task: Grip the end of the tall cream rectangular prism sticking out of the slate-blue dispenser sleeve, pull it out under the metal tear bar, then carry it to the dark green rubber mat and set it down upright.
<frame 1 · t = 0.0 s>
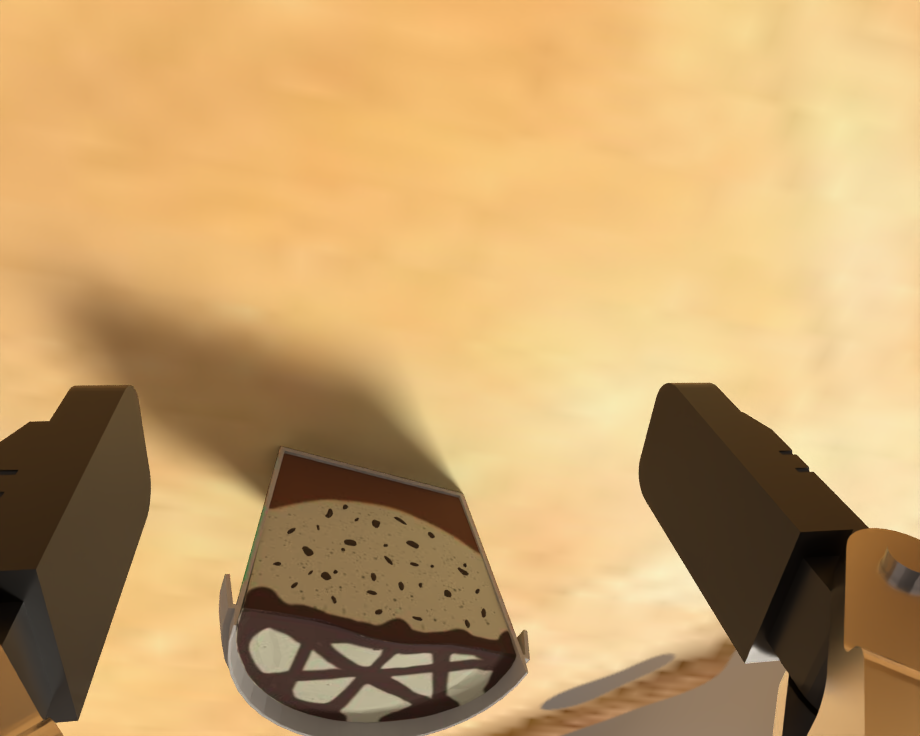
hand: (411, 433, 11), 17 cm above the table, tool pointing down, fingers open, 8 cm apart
food container: (352, 514, 34), on the table
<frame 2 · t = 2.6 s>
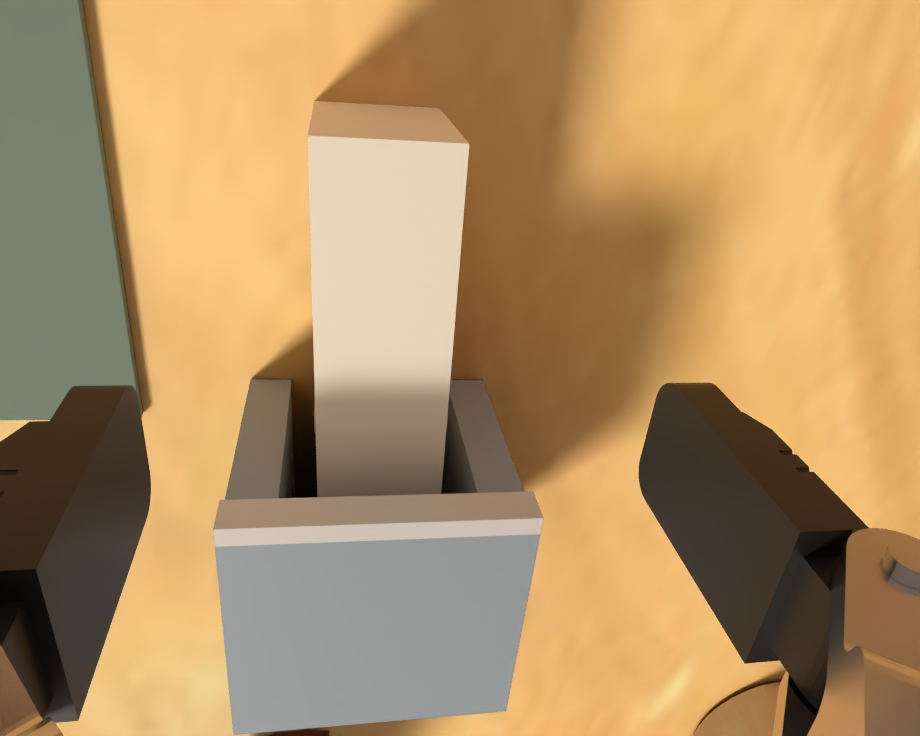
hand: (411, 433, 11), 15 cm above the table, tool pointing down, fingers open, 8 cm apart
dispenser sleeve: (367, 462, 29), on the table
tall cream rectangular prism: (374, 277, 25), on the table
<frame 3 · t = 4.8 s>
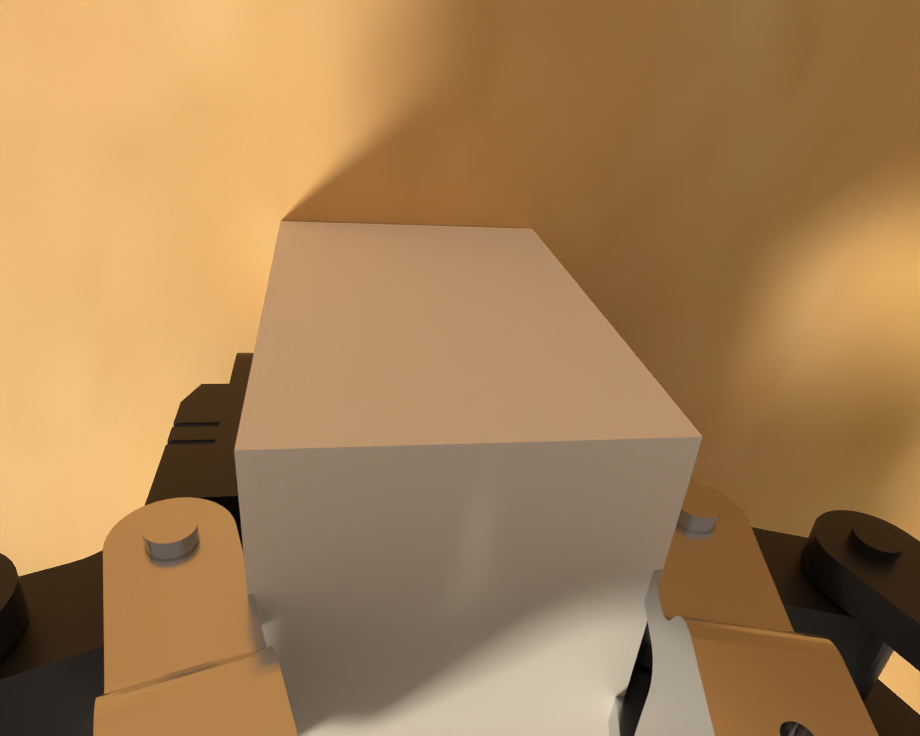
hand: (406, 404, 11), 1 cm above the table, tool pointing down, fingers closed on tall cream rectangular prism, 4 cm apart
tall cream rectangular prism: (396, 516, 14), on the table, touching gripper
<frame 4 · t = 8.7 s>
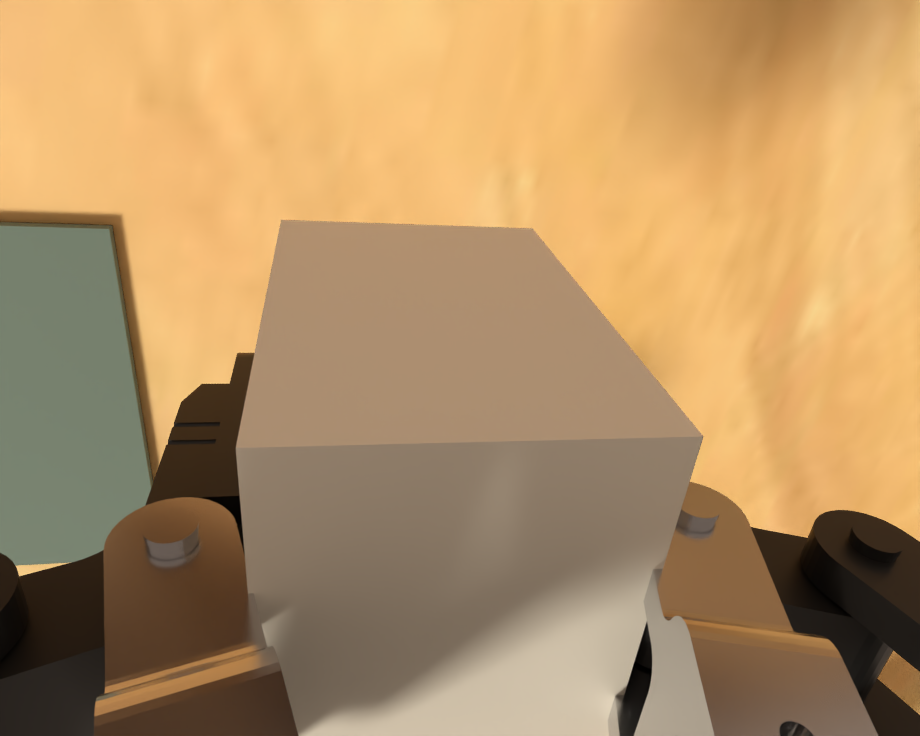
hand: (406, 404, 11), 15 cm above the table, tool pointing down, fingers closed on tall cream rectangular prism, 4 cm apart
rubber mat: (44, 411, 27), on the table
tall cream rectangular prism: (395, 516, 14), point 14 cm above the table, touching gripper
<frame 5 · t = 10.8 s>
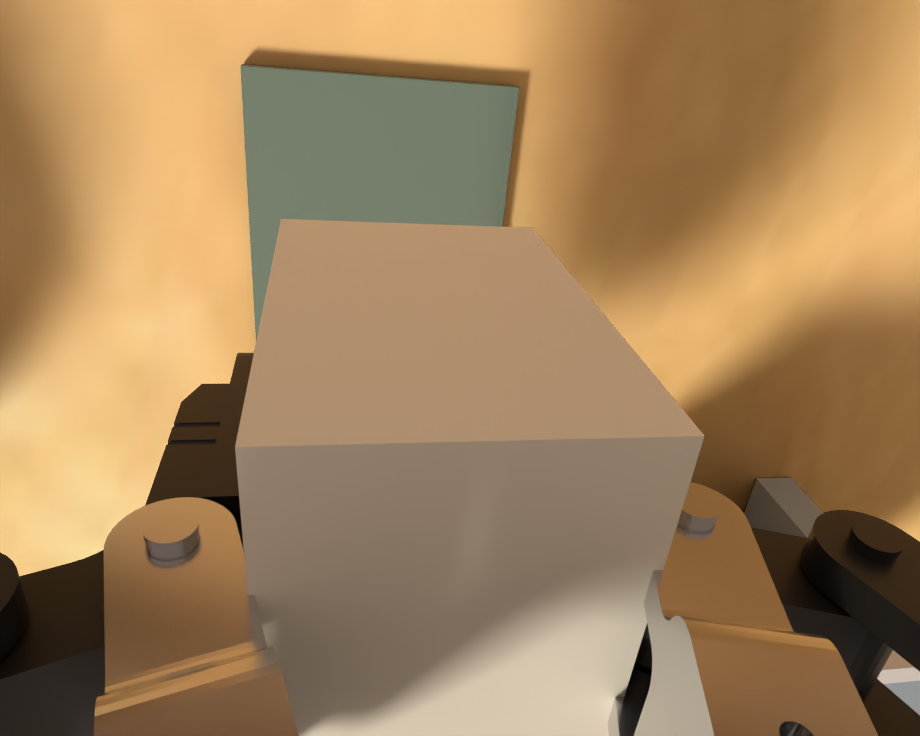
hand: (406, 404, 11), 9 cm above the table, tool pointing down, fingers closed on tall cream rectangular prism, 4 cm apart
rubber mat: (374, 336, 21), on the table
dispenser sleeve: (661, 558, 28), on the table
tall cream rectangular prism: (395, 516, 14), point 9 cm above the table, touching gripper
when the fingers open (2 cm above the table, at t = 12.8 s): tall cream rectangular prism stays where it is, resting on rubber mat.
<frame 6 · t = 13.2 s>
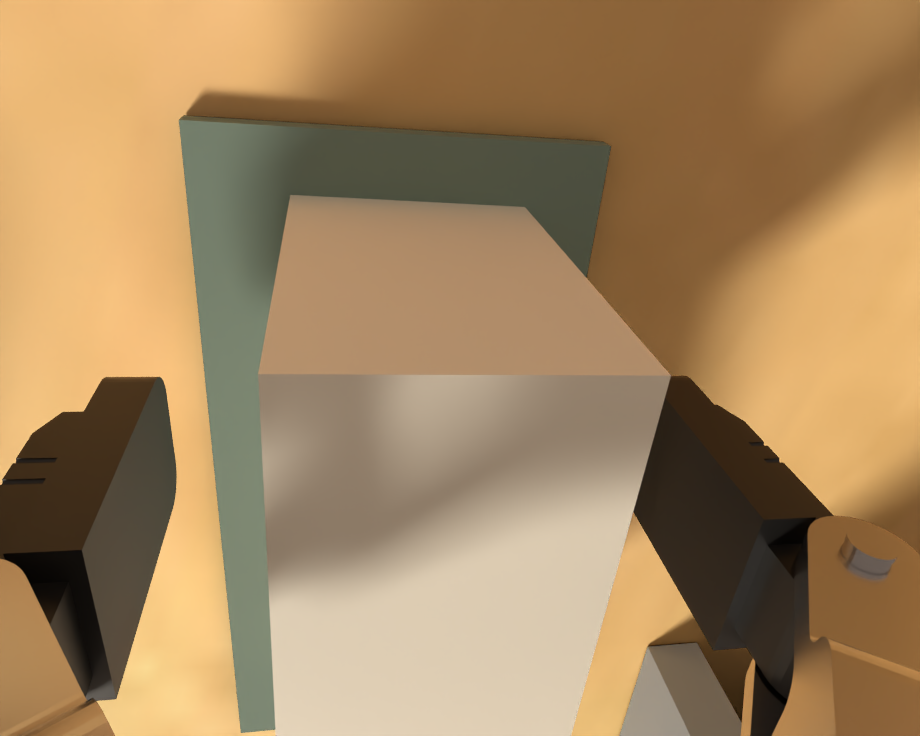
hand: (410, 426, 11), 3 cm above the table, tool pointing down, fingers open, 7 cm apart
rubber mat: (388, 485, 15), on the table
dispenser sleeve: (751, 721, 22), on the table
tall cream rectangular prism: (393, 482, 15), resting on rubber mat
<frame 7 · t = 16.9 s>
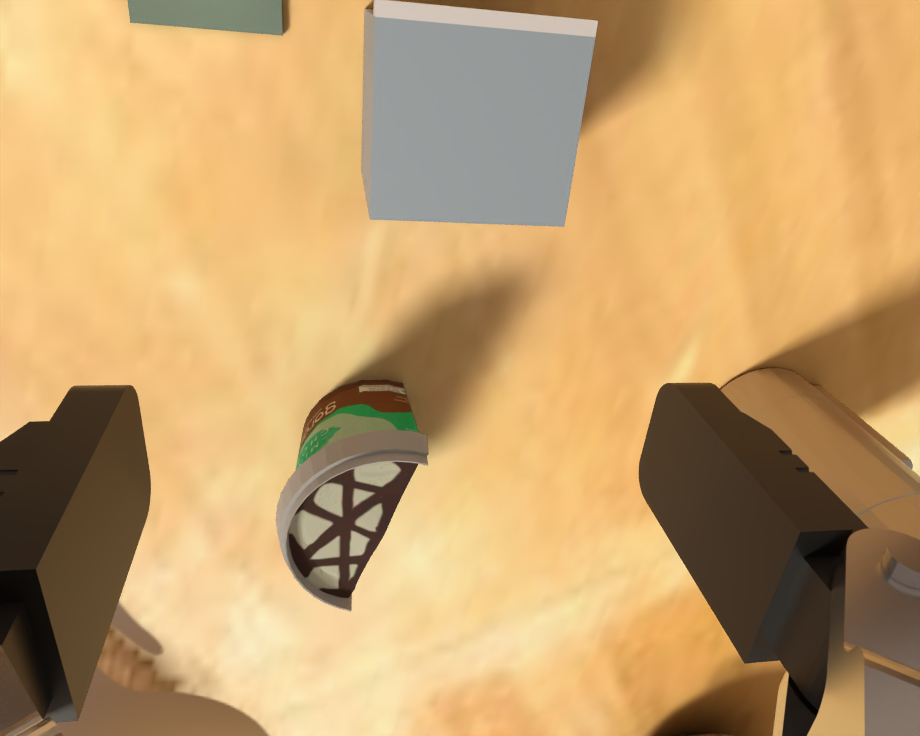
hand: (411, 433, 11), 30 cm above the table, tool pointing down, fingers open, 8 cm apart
food container: (333, 425, 46), on the table
dispenser sleeve: (447, 100, 37), on the table
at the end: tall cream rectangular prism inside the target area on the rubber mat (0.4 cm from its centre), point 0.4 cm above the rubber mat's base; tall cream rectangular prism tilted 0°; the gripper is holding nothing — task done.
